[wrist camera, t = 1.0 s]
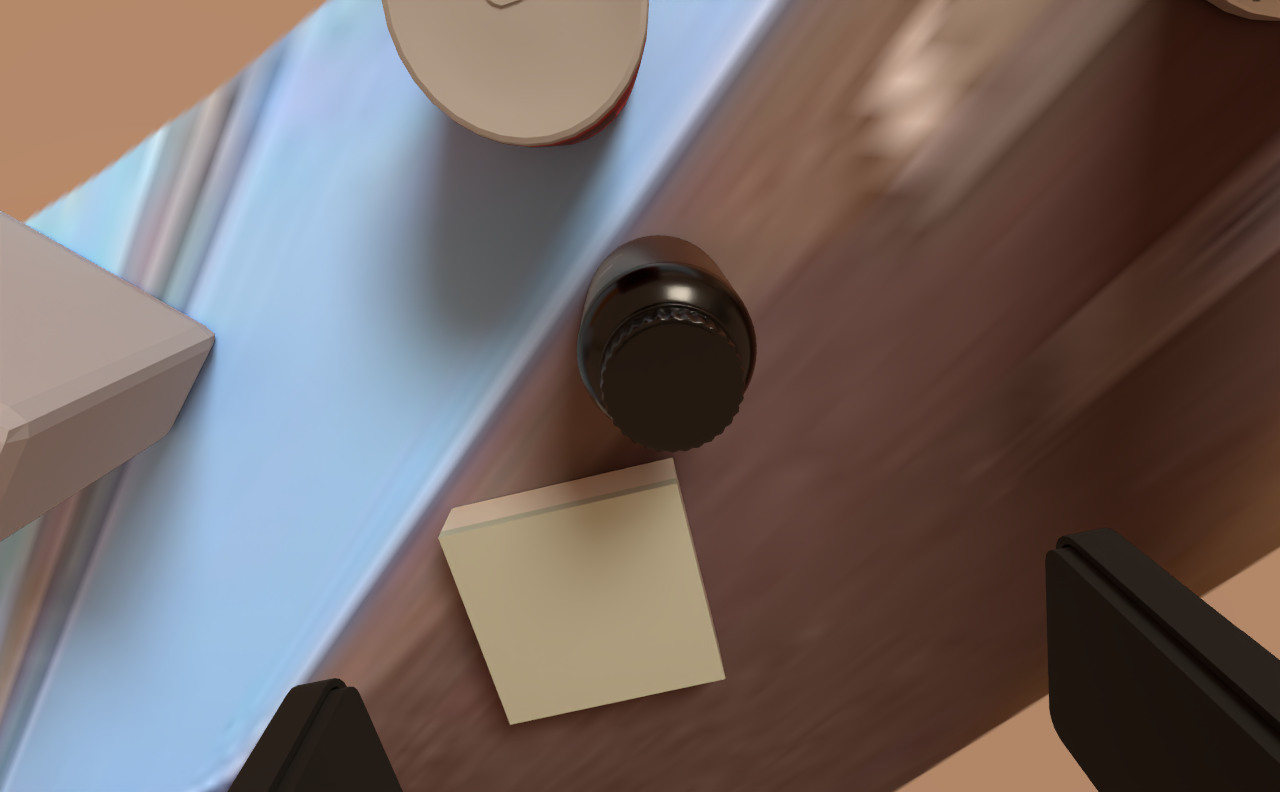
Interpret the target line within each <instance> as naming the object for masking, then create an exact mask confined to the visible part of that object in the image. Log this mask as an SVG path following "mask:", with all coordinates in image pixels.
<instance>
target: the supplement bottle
mask: <svg viewBox="0 0 1280 792" xmlns="http://www.w3.org/2000/svg"><path fill="white" fill-rule="evenodd" d="M756 354H757V344H756V335H755V330H754V326H753V323H752V320H751V318H750V315H749V313H748V311H747V309H746V307H745V305H744V303H743V301H742V300H741V299H740V297H739V296H738V294H737V293H736V291H735V290H734V289H733V287H732V286H731V284H730V283H729V281H728V280H727V279H726V277H725V276H724V274H723V273H722V272H721V270H720V269H719V267H718V266H717V265H716V264H715V262H714V261H713V260H712V259H711V258H710V257H709V256H708V255H707V254H706V253H705V252H704V251H702V250H701V249H700V248H698V247H697V246H695V245H693V244H692V243H689V242H687V241H685V240H682V239H679V238H676V237H671V236H661V235H656V236H646V237H641V238H638V239H635V240H632V241H630V242H628V243H625V244H623V245H622V246H620V247H619V248H617V249H616V250H615V251H613V252H612V253H611V254H610V255H609V256H608V257H607V258H606V259H605V260H604V261H603V262H602V263H601V265H600V266H599V268H598V269H597V271H596V273H595V274H594V276H593V279H592V281H591V284H590V287H589V290H588V293H587V297H586V302H585V306H584V311H583V315H582V319H581V324H580V328H579V333H578V340H577V362H578V368H579V373H580V376H581V379H582V382H583V384H584V387H585V389H586V391H587V393H588V394H589V396H590V398H591V399H592V400H593V402H594V403H595V404H596V406H597V407H598V408H599V409H600V410H601V411H602V412H603V413H604V414H605V415H606V416H607V417H608V418H610V419H611V420H612V421H613V424H614V425H615V426H617V427H618V428H620V429H621V432H622V434H623V435H625V436H628V437H630V438H631V440H632V441H633V442H634V443H639V444H642V445H643V446H644V447H645V448H653V449H655V450H657V451H665V450H666V451H669V452H676V451H678V450H681V451H687V450H689V449H691V448H697V447H700V446H702V445H703V444H704V443H706V442H710V441H712V440H713V439H714V437H715V436H717V435H719V434H721V433H723V431H724V429H725V427H726V426H728V425H730V424H731V423H732V420H733V417H734V416H735V415H736V414H737V413H738V412H739V405H740V403H741V402H742V400H743V399H744V397H743V395H744V393H745V391H746V389H747V387H748V385H749V383H750V381H751V378H752V375H753V372H754V367H755V363H756Z"/></svg>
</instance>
